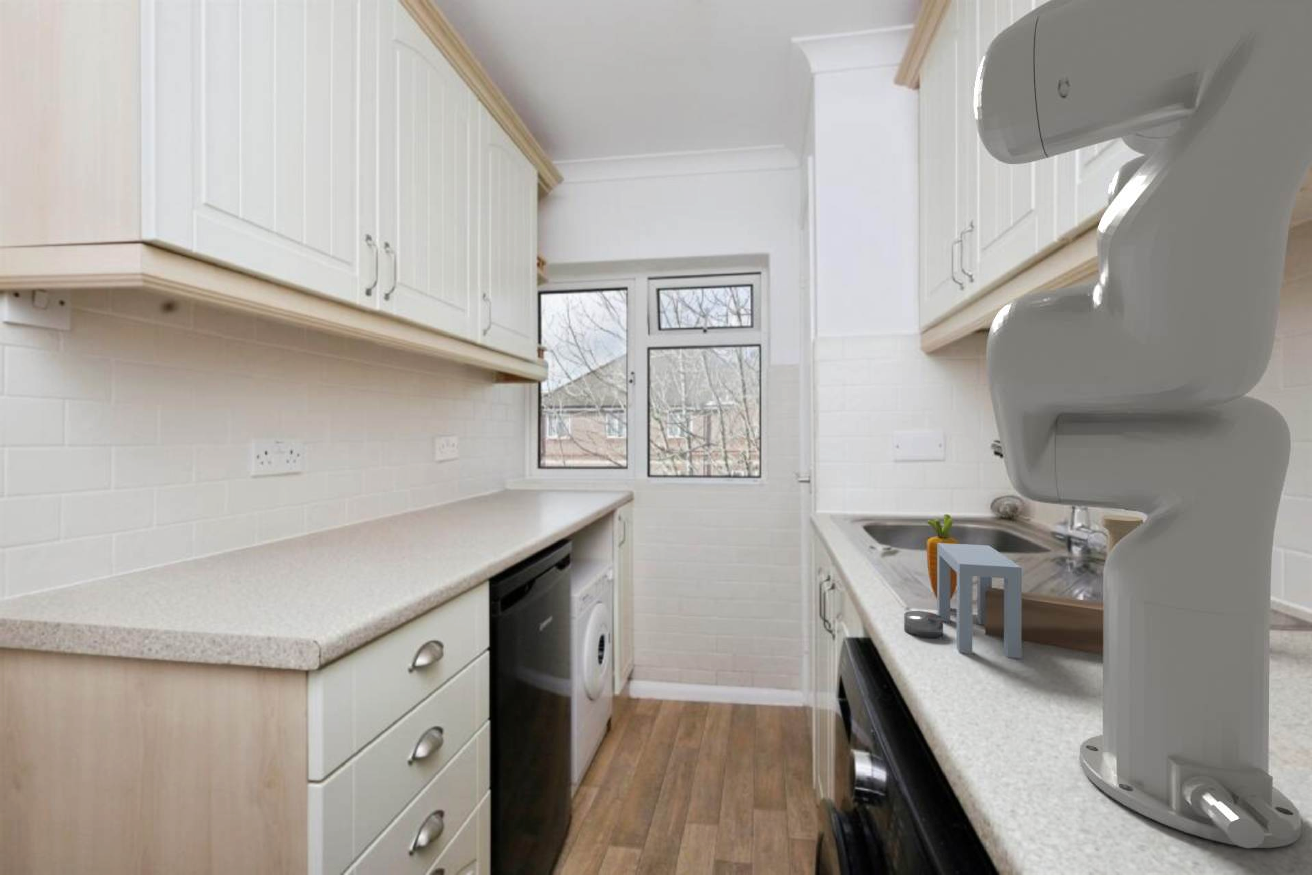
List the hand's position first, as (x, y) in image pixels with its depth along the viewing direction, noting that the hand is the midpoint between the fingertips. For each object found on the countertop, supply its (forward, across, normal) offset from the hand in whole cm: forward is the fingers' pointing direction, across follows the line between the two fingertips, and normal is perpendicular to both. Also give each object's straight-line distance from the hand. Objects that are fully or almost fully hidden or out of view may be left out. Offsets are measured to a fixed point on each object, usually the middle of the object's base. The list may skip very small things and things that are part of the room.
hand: (1178, 433), depth 63 cm
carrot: (+28, +22, +20) cm, 41 cm away
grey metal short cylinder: (+28, +9, +25) cm, 39 cm away
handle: (+28, +26, -6) cm, 39 cm away
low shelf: (+28, +9, +18) cm, 35 cm away
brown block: (+29, +9, +8) cm, 31 cm away
